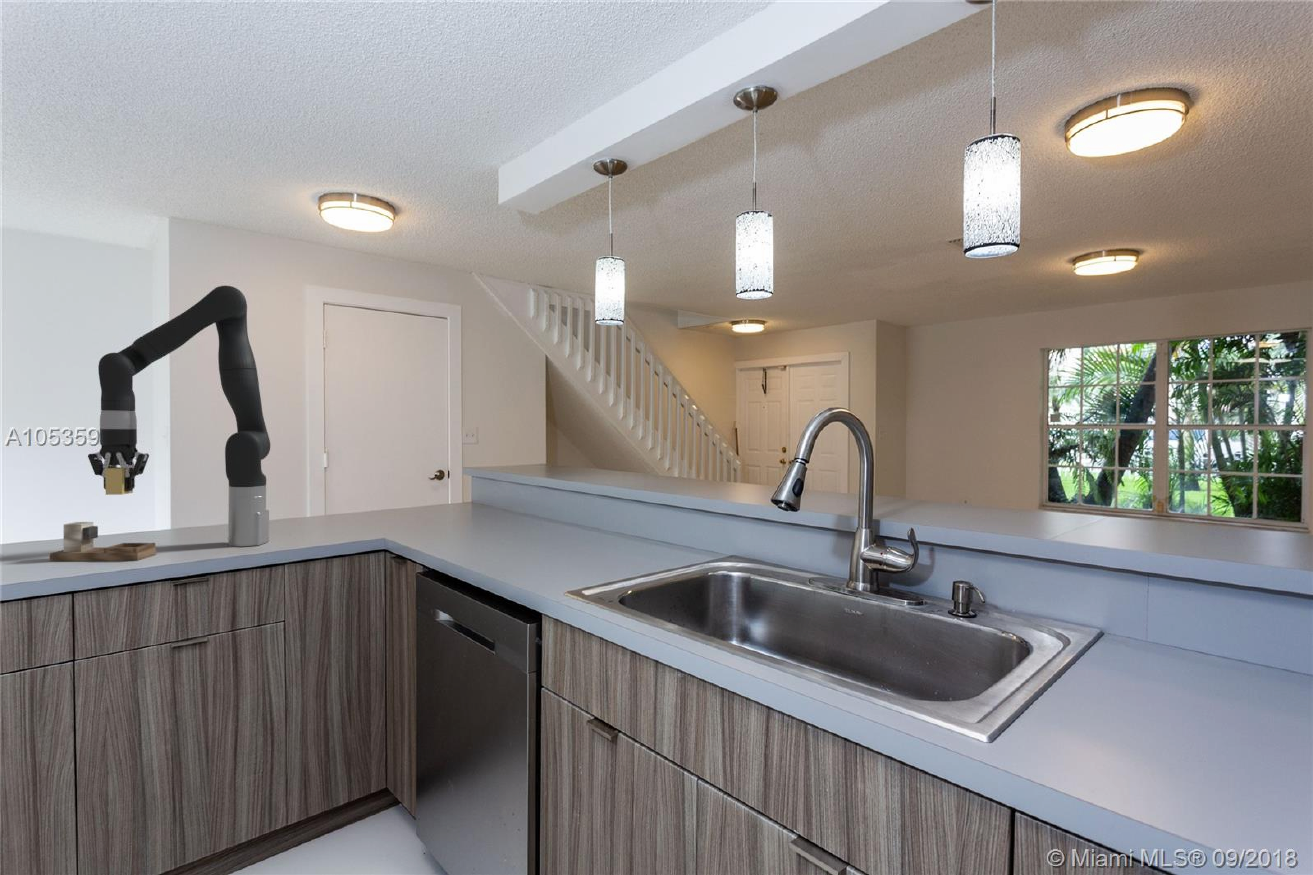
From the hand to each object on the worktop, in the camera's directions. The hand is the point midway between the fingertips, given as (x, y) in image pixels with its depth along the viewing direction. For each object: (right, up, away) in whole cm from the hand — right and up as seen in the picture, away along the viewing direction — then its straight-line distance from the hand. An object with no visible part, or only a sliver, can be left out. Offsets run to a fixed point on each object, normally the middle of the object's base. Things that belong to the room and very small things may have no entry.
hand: (119, 490), depth 166 cm
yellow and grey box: (0, -1, 0) cm, 1 cm away
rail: (+3, -17, -7) cm, 18 cm away
